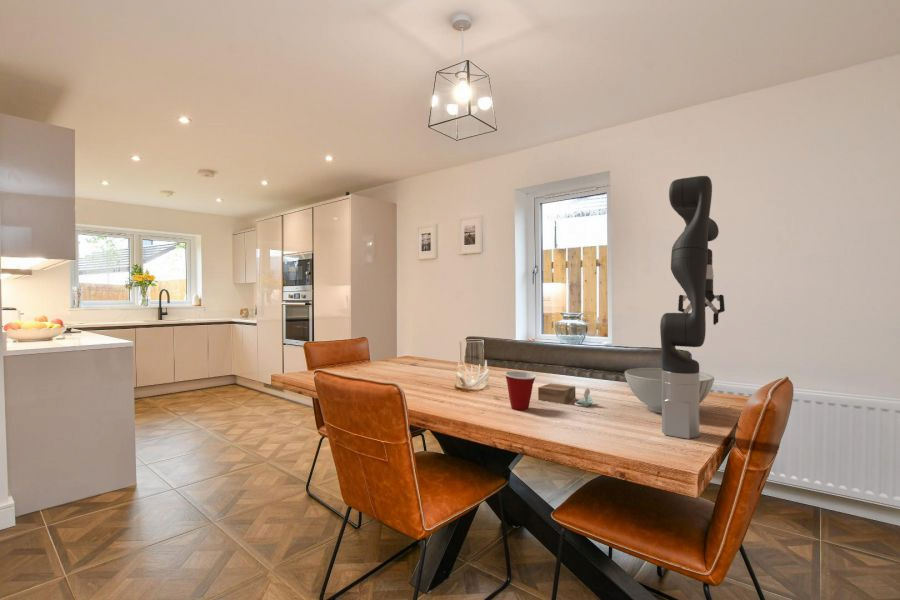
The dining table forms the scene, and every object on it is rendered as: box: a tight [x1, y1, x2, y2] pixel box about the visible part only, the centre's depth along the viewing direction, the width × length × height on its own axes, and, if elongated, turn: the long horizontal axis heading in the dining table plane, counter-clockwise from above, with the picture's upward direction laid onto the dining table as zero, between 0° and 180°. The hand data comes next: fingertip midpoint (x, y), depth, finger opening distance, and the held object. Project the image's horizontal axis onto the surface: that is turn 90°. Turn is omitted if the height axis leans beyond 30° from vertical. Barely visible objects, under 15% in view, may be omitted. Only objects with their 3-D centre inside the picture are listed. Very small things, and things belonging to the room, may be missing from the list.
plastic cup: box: [504, 370, 537, 411], centre depth 153 cm, size 11×11×12 cm
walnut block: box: [537, 383, 576, 405], centre depth 166 cm, size 10×10×5 cm
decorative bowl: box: [624, 367, 715, 414], centre depth 150 cm, size 27×27×12 cm
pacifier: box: [574, 387, 594, 407], centre depth 158 cm, size 7×6×6 cm
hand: (700, 324), depth 159 cm, fingers open, 8 cm apart
